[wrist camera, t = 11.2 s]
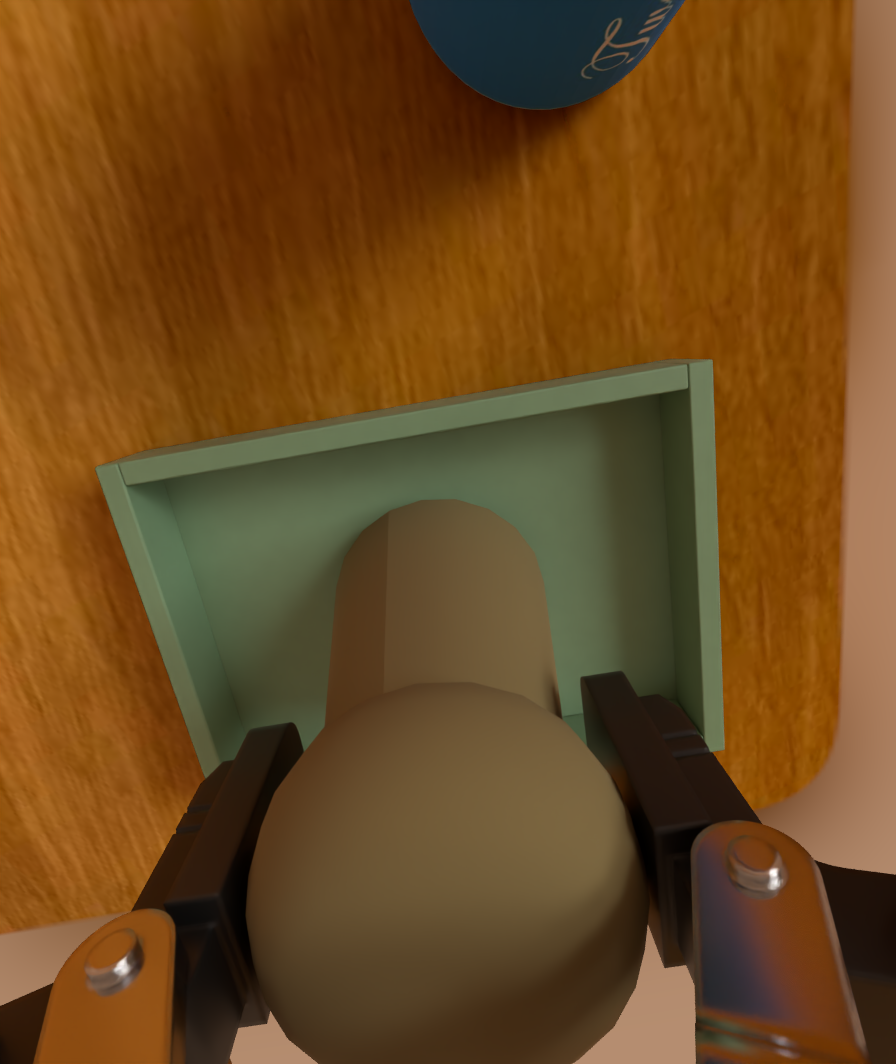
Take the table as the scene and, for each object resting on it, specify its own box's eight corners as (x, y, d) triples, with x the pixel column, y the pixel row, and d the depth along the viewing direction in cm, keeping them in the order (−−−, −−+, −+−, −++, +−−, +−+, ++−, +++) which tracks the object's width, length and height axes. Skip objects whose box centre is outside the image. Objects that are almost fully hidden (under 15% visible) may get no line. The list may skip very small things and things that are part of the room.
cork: (556, 672, 17) (741, 1153, 7) (360, 705, 18) (253, 1222, 7) (530, 480, 16) (725, 735, 5) (313, 518, 16) (75, 840, 5)
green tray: (671, 358, 16) (713, 359, 14) (689, 701, 19) (725, 750, 17) (142, 450, 16) (93, 467, 14) (247, 771, 20) (221, 829, 17)
